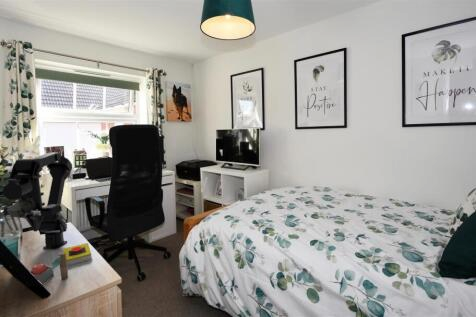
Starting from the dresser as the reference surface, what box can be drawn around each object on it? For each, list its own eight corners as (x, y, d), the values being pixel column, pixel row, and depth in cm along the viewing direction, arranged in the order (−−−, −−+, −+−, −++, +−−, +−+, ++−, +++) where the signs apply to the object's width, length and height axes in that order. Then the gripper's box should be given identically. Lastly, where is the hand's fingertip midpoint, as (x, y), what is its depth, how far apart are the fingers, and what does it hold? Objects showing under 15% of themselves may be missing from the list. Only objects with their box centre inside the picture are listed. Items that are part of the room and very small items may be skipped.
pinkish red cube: (39, 271, 91) (38, 261, 91) (49, 272, 91) (48, 262, 91) (30, 278, 88) (28, 267, 87) (40, 278, 87) (39, 268, 87)
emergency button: (63, 259, 96) (61, 243, 108) (64, 270, 96) (63, 253, 109) (92, 252, 101) (87, 238, 113) (93, 262, 102) (88, 247, 114)
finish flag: (64, 276, 92) (61, 252, 90) (69, 276, 92) (66, 252, 90) (52, 286, 86) (49, 260, 85) (58, 286, 86) (55, 261, 85)
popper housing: (39, 275, 92) (38, 266, 92) (53, 276, 92) (52, 266, 92) (26, 284, 87) (25, 274, 87) (41, 285, 87) (40, 275, 86)
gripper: (-14, 197, 91) (-8, 240, 94) (37, 198, 90) (42, 241, 92) (15, 189, 102) (20, 227, 105) (60, 189, 101) (64, 228, 103)
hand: (36, 231), depth 101 cm, fingers closed
